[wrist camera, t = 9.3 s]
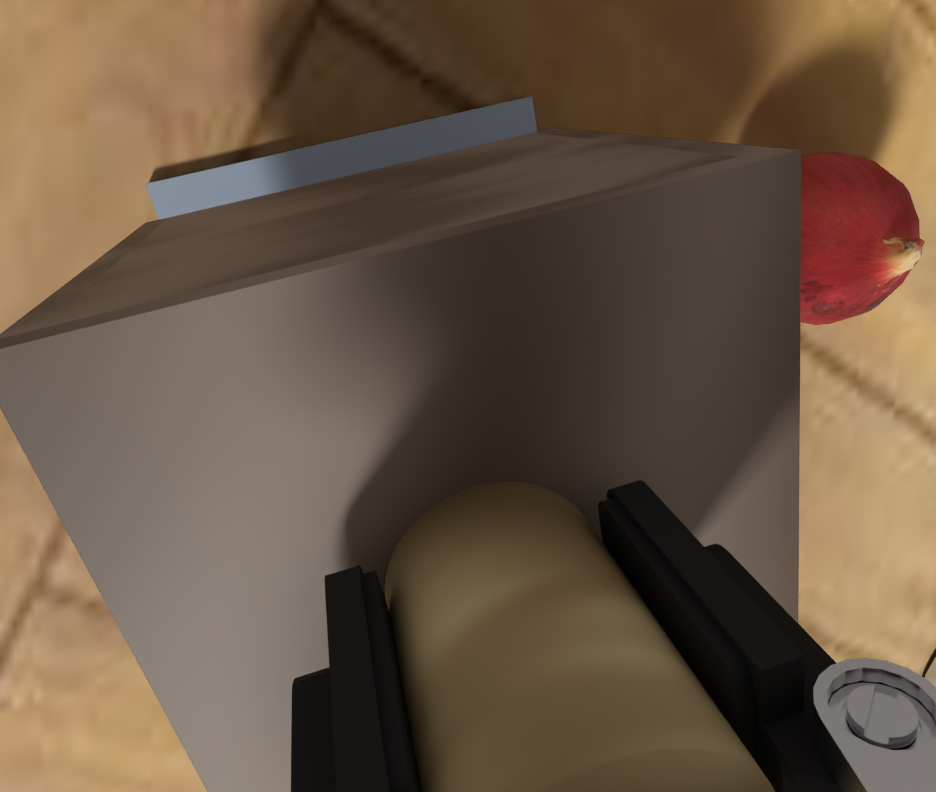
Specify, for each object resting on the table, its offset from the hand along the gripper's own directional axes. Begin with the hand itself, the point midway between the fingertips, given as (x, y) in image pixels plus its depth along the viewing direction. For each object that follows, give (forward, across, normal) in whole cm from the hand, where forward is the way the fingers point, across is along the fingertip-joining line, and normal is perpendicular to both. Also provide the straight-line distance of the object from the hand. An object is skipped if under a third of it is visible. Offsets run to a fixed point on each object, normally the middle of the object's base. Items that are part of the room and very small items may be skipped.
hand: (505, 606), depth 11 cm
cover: (+11, 0, 0) cm, 11 cm away
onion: (+17, -15, 0) cm, 23 cm away
